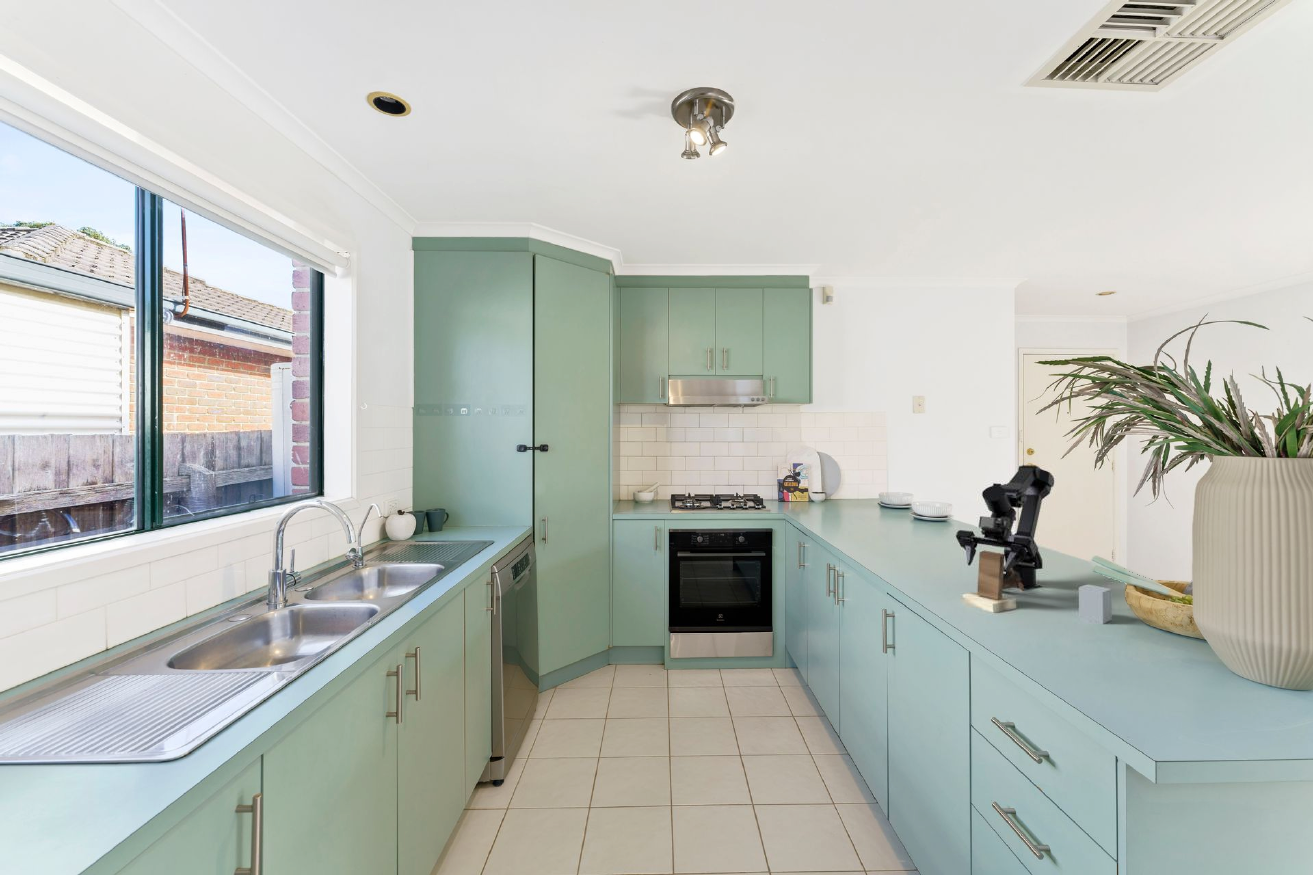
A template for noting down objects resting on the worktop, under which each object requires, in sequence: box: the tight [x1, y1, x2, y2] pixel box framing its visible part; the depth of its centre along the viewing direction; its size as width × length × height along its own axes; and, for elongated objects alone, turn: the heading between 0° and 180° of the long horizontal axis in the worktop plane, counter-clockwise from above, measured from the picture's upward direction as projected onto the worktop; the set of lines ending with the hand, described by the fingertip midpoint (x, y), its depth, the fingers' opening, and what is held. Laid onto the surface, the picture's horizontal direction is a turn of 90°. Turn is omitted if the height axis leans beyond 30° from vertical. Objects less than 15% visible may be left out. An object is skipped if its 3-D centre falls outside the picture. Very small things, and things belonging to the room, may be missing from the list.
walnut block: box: [976, 550, 1005, 600], centre depth 148 cm, size 4×5×12 cm
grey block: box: [1078, 584, 1113, 625], centre depth 136 cm, size 5×5×8 cm
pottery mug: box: [1002, 565, 1025, 592], centre depth 163 cm, size 12×10×8 cm
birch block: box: [962, 591, 1017, 614], centre depth 148 cm, size 9×9×3 cm
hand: (986, 567), depth 147 cm, fingers open, 9 cm apart
